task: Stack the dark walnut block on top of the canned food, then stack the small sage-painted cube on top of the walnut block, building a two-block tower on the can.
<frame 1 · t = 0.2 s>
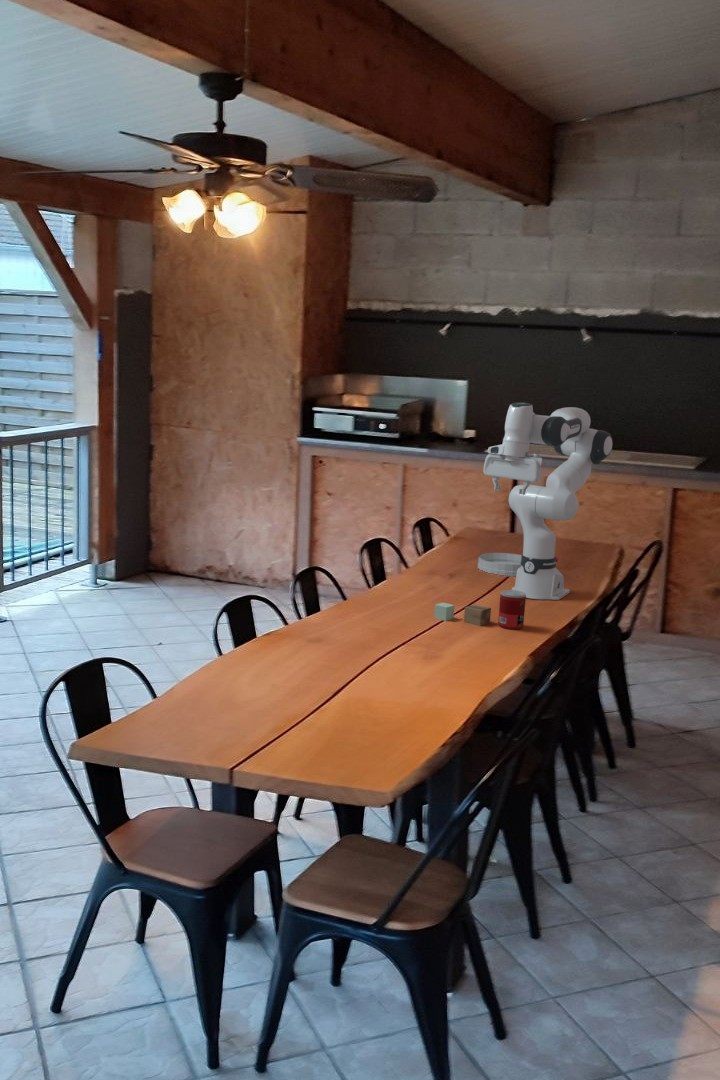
hand: (509, 492, 354), 39 cm above the table, tool pointing down, fingers open, 8 cm apart
walnut block: (476, 622, 339), on the table
sage cube: (443, 618, 342), on the table
dish: (505, 571, 419), on the table
canned food: (510, 627, 336), on the table
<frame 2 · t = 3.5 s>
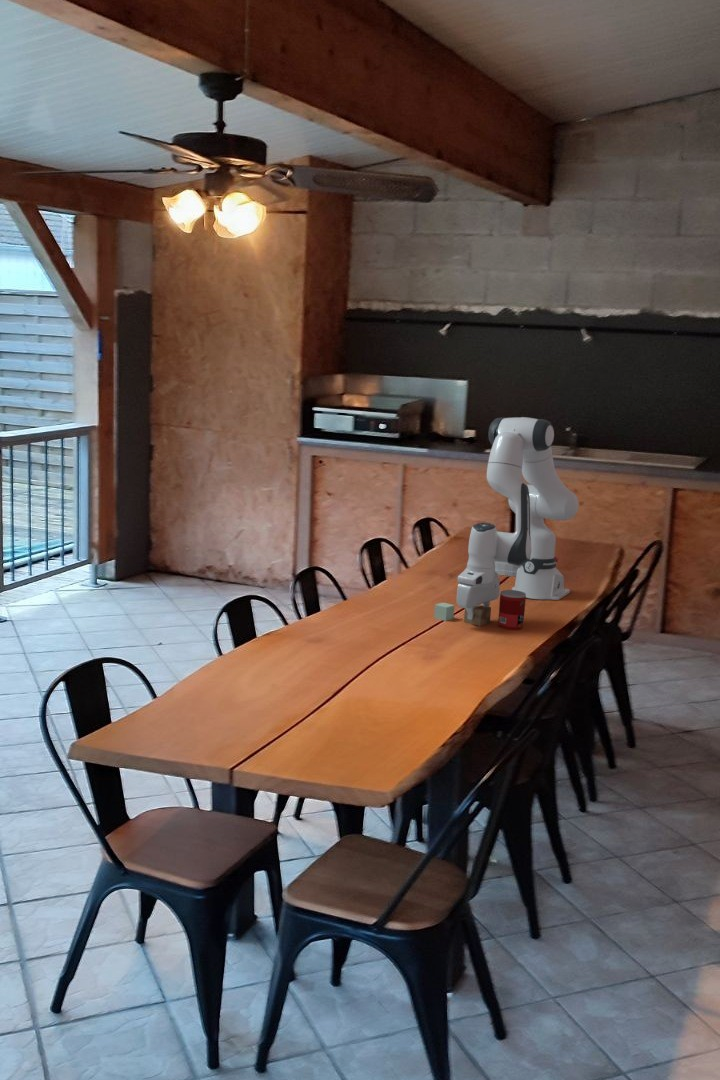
hand: (477, 617, 338), 2 cm above the table, tool pointing down, fingers closed on walnut block, 6 cm apart
walnut block: (476, 622, 339), on the table, touching gripper
everything else where it was.
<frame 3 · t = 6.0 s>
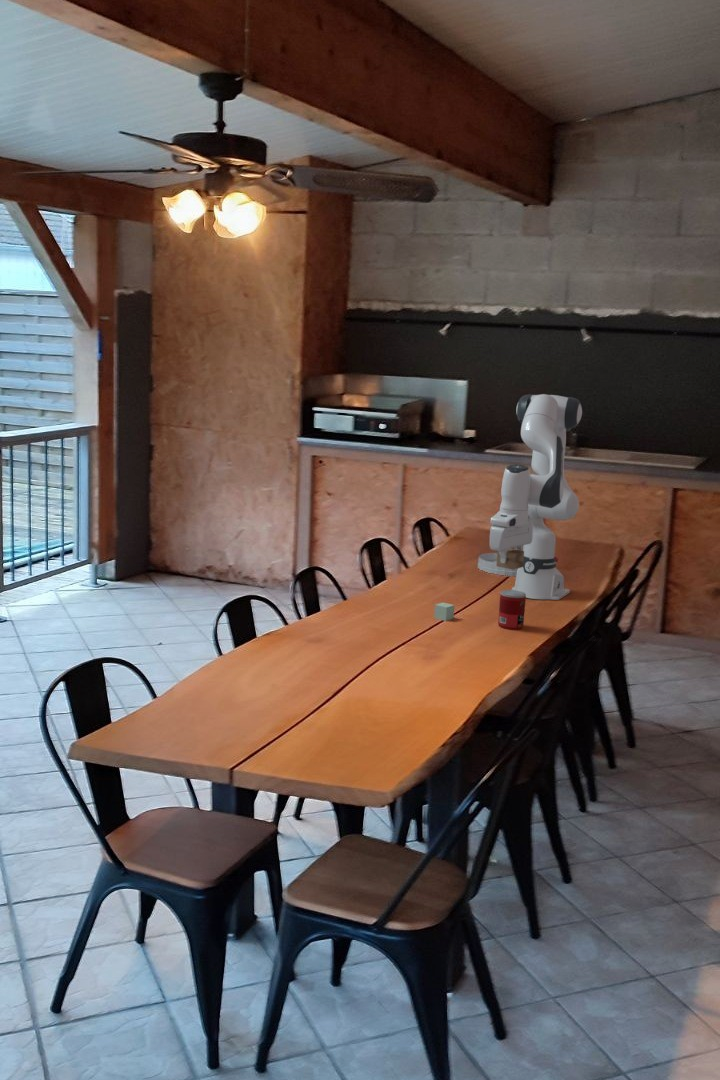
hand: (510, 561, 332), 21 cm above the table, tool pointing down, fingers closed on walnut block, 6 cm apart
walnut block: (509, 566, 333), point 19 cm above the table, touching gripper
everything else where it was.
when the fingers open (14 cm above the table, at t = 8.4 s): walnut block stays where it is, resting on canned food.
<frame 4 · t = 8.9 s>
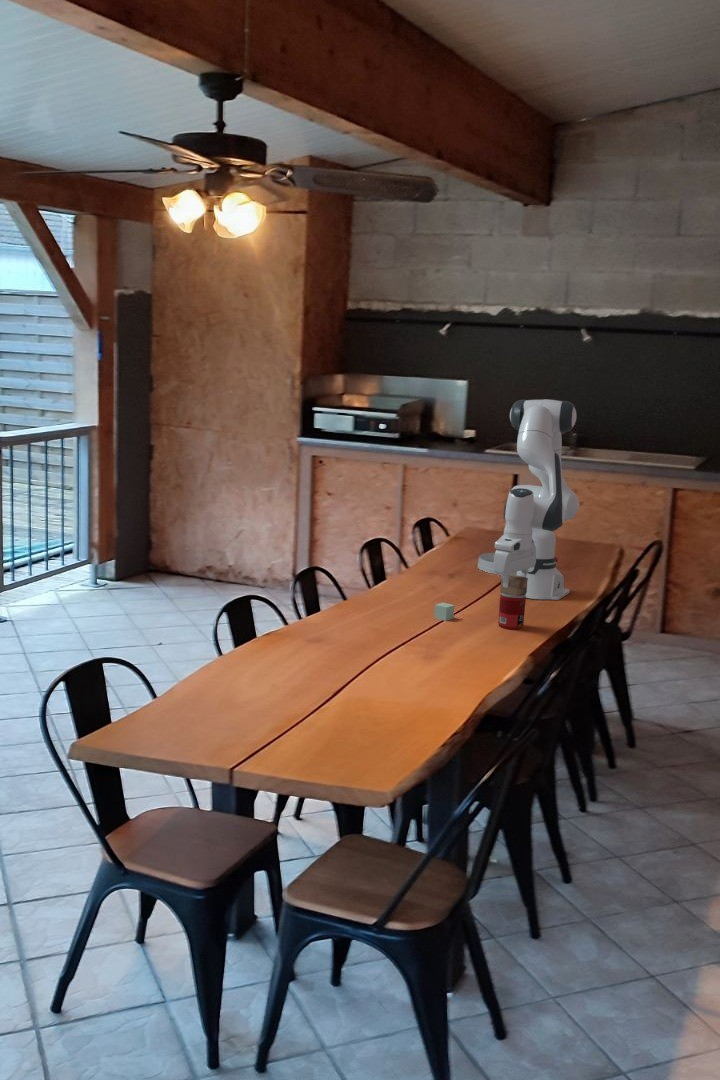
hand: (513, 584, 333), 14 cm above the table, tool pointing down, fingers open, 8 cm apart
walnut block: (513, 592, 334), point 11 cm above the table, touching canned food
canned food: (510, 627, 336), on the table, touching walnut block
everything else where it was.
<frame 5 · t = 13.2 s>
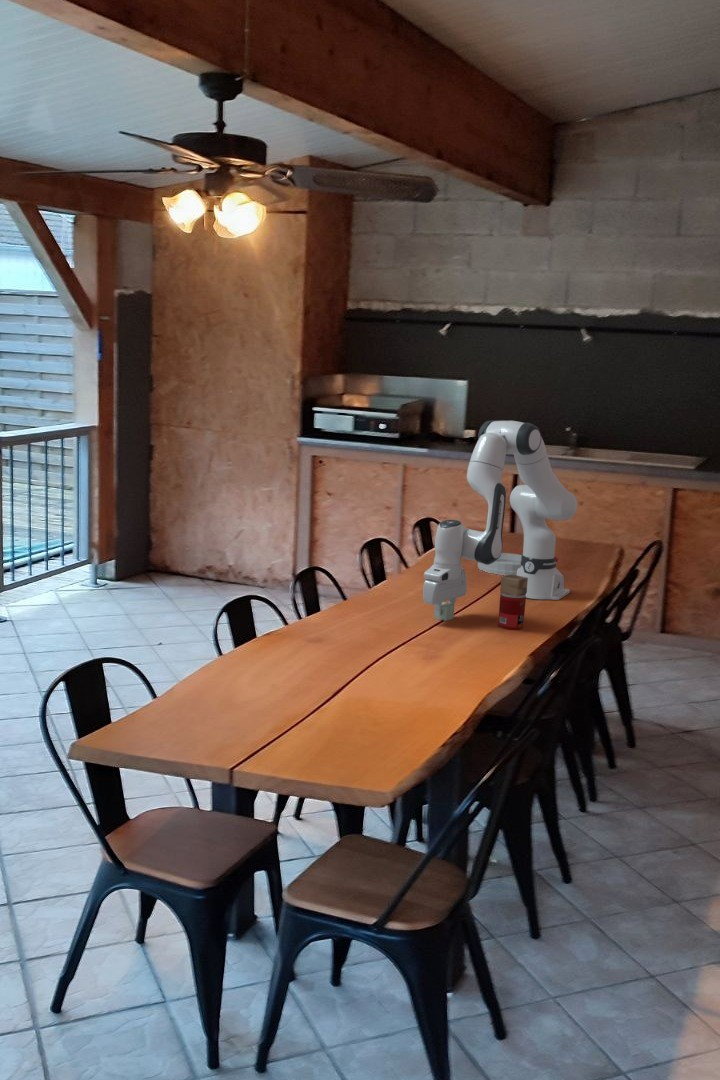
hand: (444, 613, 341), 2 cm above the table, tool pointing down, fingers closed on sage cube, 4 cm apart
sage cube: (443, 618, 342), on the table, touching gripper
everything else where it was.
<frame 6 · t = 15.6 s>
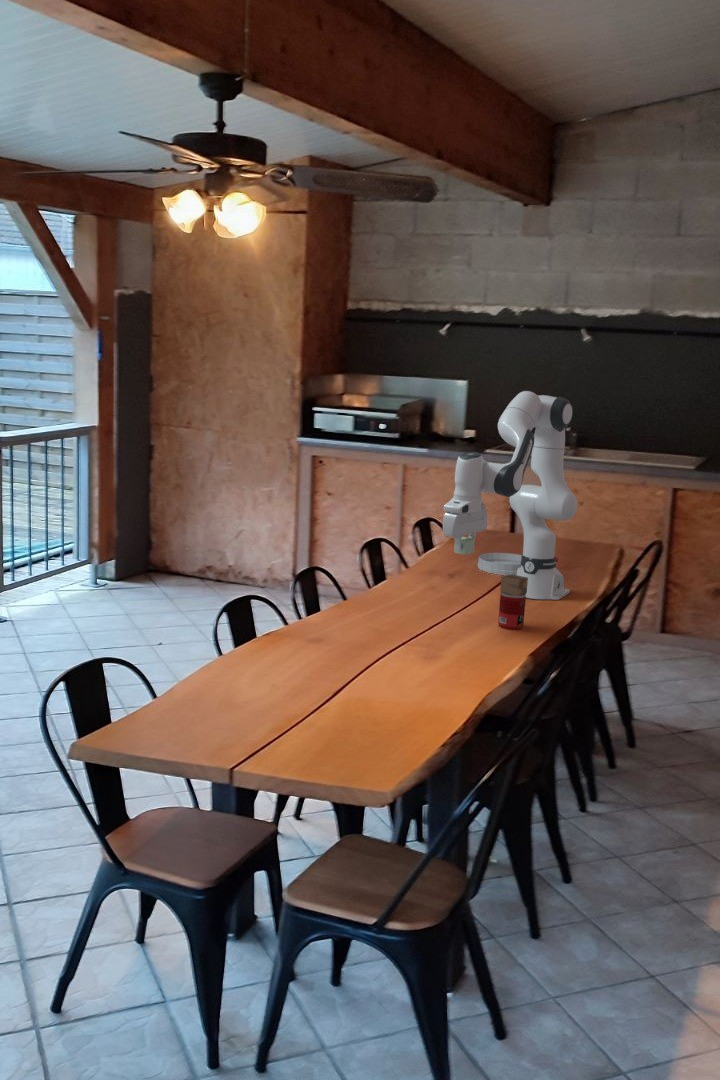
hand: (464, 547, 336), 24 cm above the table, tool pointing down, fingers closed on sage cube, 4 cm apart
sage cube: (463, 552, 336), point 22 cm above the table, touching gripper
everything else where it was.
when the fingers open (18 cm above the table, at t = 18.3 s): sage cube stays where it is, resting on walnut block.
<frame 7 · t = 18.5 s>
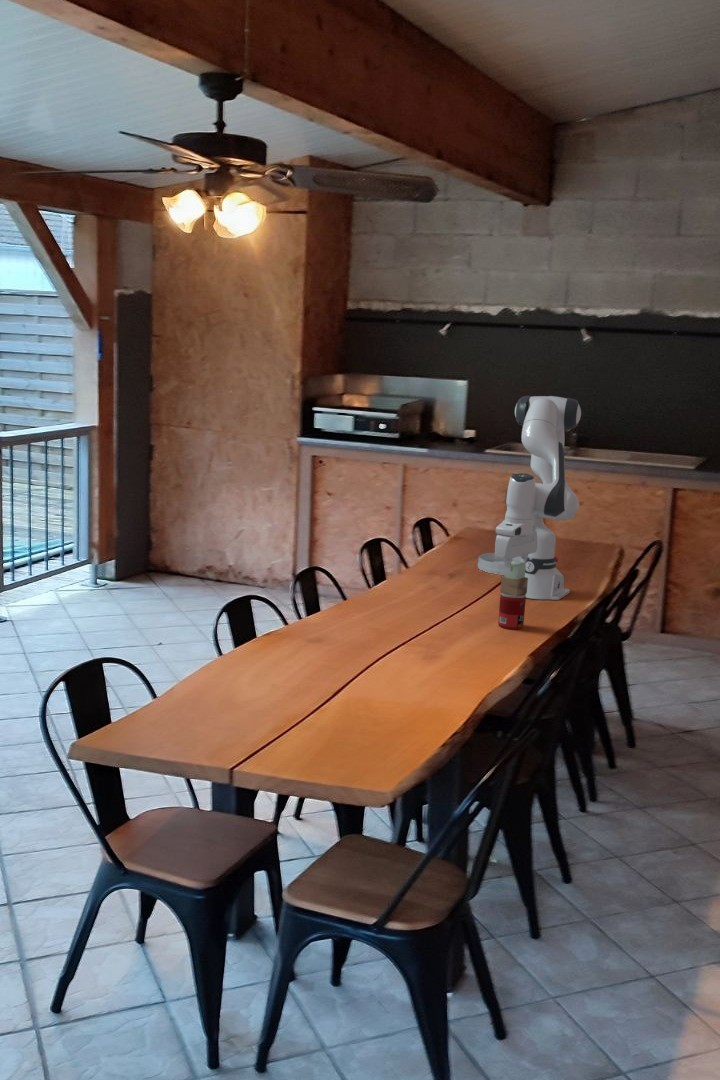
hand: (515, 570, 332), 18 cm above the table, tool pointing down, fingers open, 6 cm apart
walnut block: (513, 592, 334), point 11 cm above the table, touching canned food, sage cube
sage cube: (514, 577, 333), point 16 cm above the table, touching walnut block
everything else where it was.
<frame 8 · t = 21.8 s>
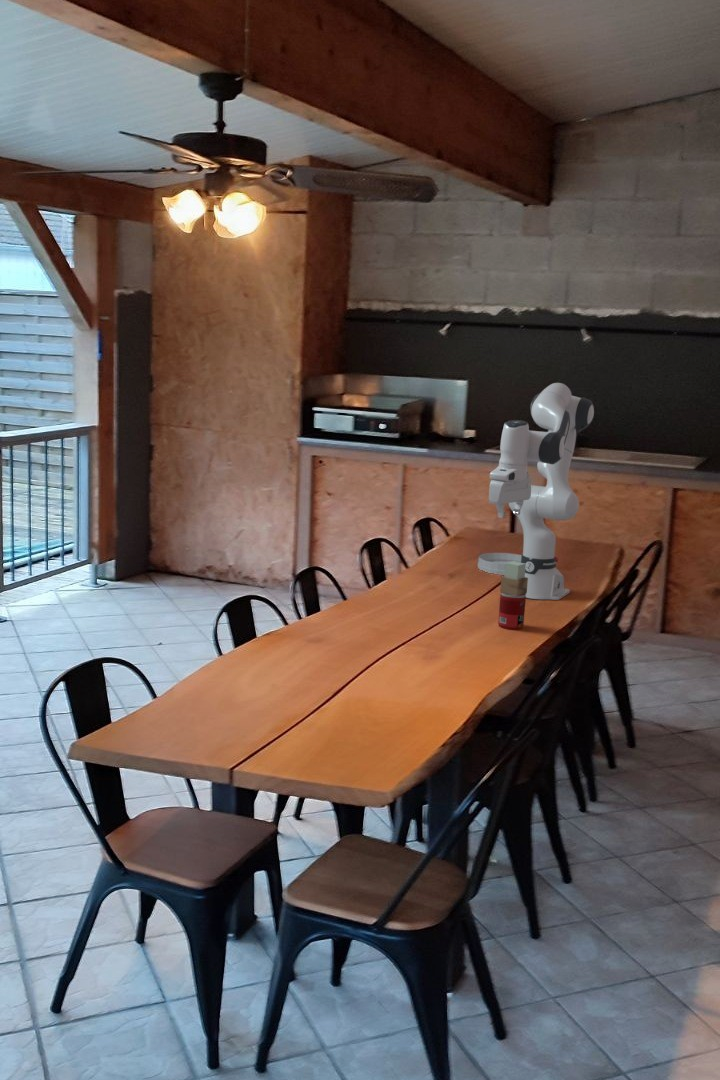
hand: (509, 516, 336), 34 cm above the table, tool pointing down, fingers open, 8 cm apart
walnut block: (513, 592, 334), point 11 cm above the table, touching canned food
sage cube: (514, 577, 333), point 16 cm above the table
everything else where it was.
at the end: walnut block 0.1 cm from the canned food (horizontally); walnut block point 10.9 cm above the table; sage cube inside the target area on the walnut block (0.0 cm from its centre), point 5.0 cm above the walnut block's base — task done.
